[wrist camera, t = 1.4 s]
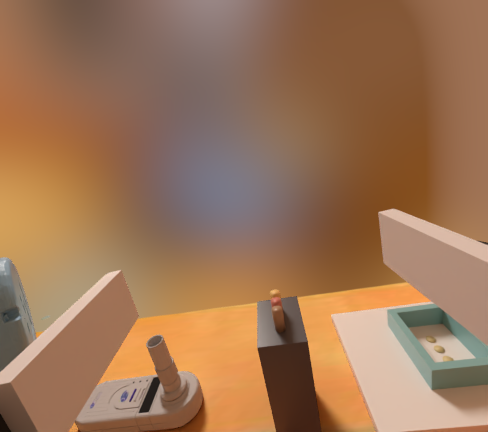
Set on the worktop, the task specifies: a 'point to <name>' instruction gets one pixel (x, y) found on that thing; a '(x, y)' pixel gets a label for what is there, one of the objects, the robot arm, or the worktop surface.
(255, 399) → the worktop surface
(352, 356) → the header board
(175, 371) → the electronic device
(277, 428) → the block
